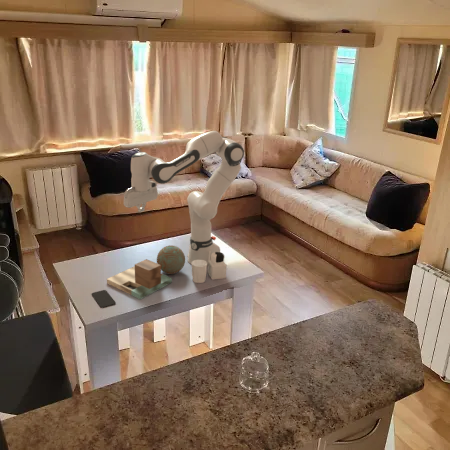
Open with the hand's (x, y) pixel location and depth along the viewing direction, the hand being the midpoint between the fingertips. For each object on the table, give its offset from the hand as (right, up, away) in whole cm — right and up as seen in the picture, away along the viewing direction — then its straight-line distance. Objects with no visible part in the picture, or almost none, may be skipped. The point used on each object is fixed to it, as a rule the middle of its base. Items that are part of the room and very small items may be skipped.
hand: (141, 211), depth 237 cm
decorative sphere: (+14, -32, +13) cm, 37 cm away
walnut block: (+4, -36, -4) cm, 36 cm away
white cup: (+29, -36, +6) cm, 47 cm away
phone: (-15, -43, -15) cm, 48 cm away
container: (+38, -34, +11) cm, 52 cm away
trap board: (-1, -36, +1) cm, 36 cm away
